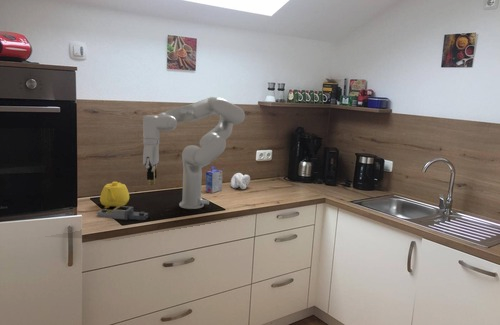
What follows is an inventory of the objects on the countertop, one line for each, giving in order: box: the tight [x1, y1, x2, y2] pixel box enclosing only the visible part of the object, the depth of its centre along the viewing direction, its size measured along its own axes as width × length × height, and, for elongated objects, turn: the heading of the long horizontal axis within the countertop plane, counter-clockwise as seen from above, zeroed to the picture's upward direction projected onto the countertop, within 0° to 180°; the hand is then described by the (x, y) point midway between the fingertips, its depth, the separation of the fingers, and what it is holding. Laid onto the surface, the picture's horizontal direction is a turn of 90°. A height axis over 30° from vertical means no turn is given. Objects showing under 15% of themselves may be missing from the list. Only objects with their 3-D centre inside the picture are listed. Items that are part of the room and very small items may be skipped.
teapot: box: [99, 181, 130, 209], centre depth 207 cm, size 13×20×12 cm
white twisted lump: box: [230, 172, 251, 191], centre depth 258 cm, size 11×12×9 cm
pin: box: [148, 164, 156, 186], centre depth 201 cm, size 3×3×10 cm
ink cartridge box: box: [205, 166, 223, 194], centre depth 248 cm, size 10×6×14 cm, turn 148°
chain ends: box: [96, 205, 149, 221], centre depth 193 cm, size 22×7×4 cm, turn 84°
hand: (151, 178), depth 201 cm, fingers closed on pin, 3 cm apart
